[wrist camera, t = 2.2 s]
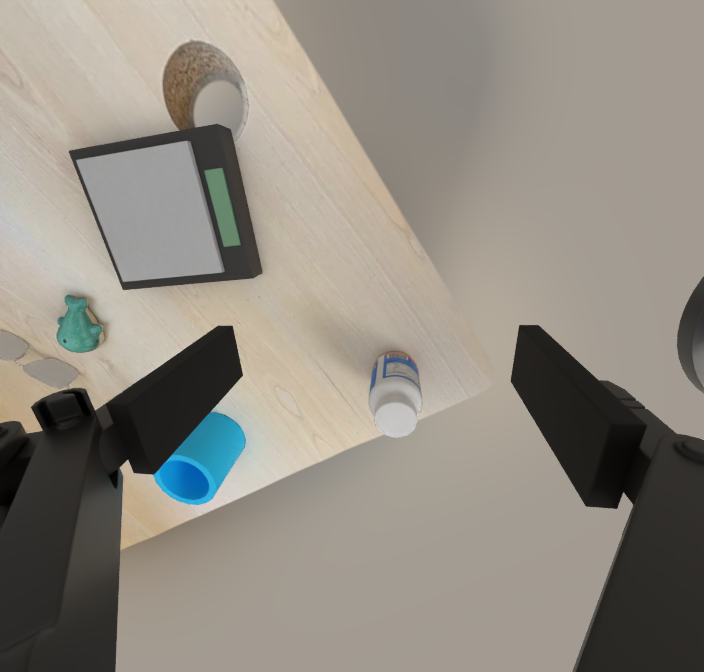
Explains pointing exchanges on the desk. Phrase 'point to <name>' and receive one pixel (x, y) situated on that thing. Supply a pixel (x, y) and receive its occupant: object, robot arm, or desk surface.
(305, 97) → the desk surface
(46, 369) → the eyeglasses
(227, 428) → the mug
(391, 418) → the pill bottle
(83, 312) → the whale figurine
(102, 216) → the scale
